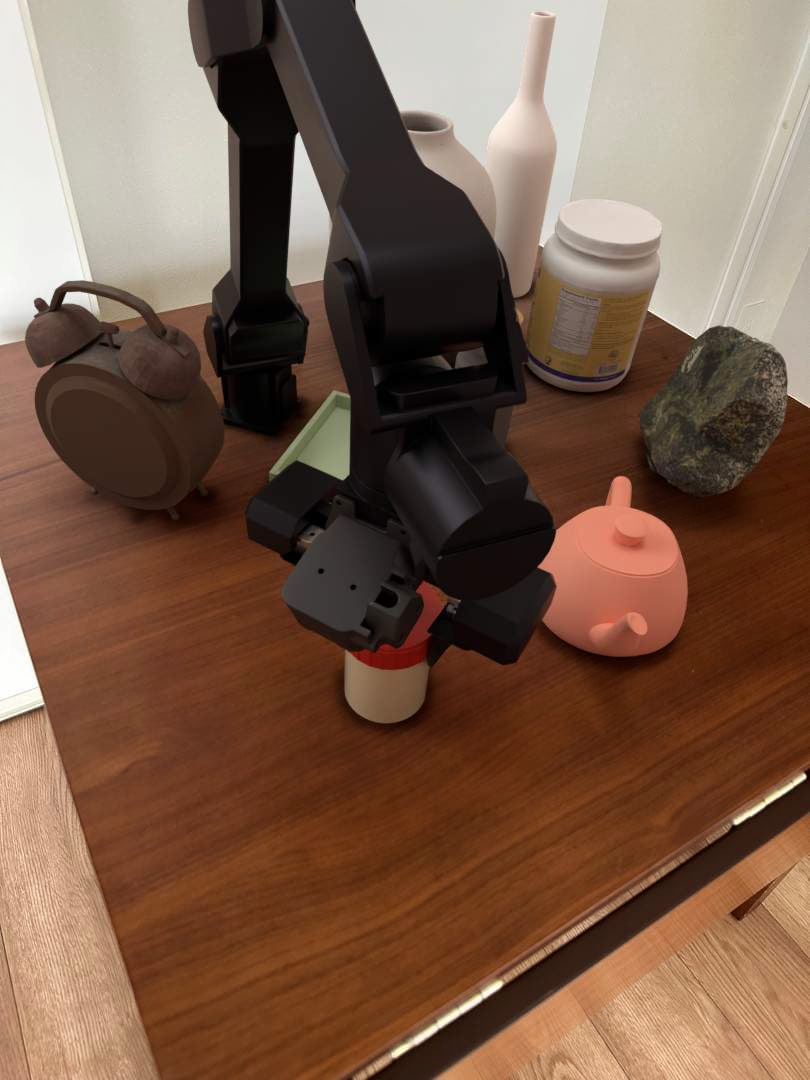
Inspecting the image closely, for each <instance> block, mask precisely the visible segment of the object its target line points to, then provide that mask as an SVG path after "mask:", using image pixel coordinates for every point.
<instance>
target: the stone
mask: <svg viewBox="0 0 810 1080" xmlns="http://www.w3.org/2000/svg"><path fill="white" fill-rule="evenodd" d="M788 379H789V378H788V371H787V364H786V361H785V359H784V356H782V354H781V353H780V351H779V350H777V349H776V347H775V346H774V345H773V344H771V343H770V342H765V341H761V340H760V339H758V338H757V337H752V336H751V335H749V334H748V333H745V332H743V331H741V330H739V329H737V328H735V327H734V326H723V325H720V324H719V325H716V326H712V327H709V328H707V329H706V330H705V331H704V332H702V333H701V334H700V335H699V336H697V337H696V339H694V341H693V342H692V343H691V345H690V346H689V348H688V349H687V351H686V353H685V354H684V355H683V358H682V359H681V361H680V363H679V365H678V366H677V368H676V370H675V372H674V373H673V374H672V375H671V376H670V378H669V379H667V381H666V384H665V385H664V386H662V388H661V389H660V390H659V391H658V392H657V393H655V395H654V396H653V397H652V398H651V399H649V400H648V402H646V403H645V404H644V405H643V406H642V408H641V410H640V412H639V413H637V417H638V423H639V429H640V431H641V434H642V436H643V439H644V443H645V446H646V447H645V448H646V460H647V462H648V464H649V468H650V470H651V471H652V472H653V473H655V474H657V475H660V476H662V477H663V478H665V479H666V481H667V482H668V483H669V484H671V485H672V486H673V487H677V488H678V489H679V490H680V491H682V492H684V493H686V494H690V495H691V496H693V497H698V498H705V497H706V498H707V497H713V496H716V495H719V494H724V493H727V492H729V491H731V490H732V489H734V488H736V487H738V485H739V484H740V483H741V482H742V480H743V479H744V478H745V477H746V476H747V475H748V474H749V473H751V472H752V471H753V469H755V468H756V467H757V466H758V465H759V463H760V462H761V461H762V459H763V457H764V456H765V454H766V453H767V451H768V449H769V448H770V447H771V445H772V444H773V443H774V441H775V439H776V438H777V437H778V435H779V434H780V432H781V430H782V428H783V424H784V421H785V417H786V413H787V407H788V402H789V398H788V385H789V380H788Z"/></svg>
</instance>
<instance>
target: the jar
mask: <svg viewBox="0 0 810 1080" xmlns="http://www.w3.org/2000/svg"><path fill="white" fill-rule="evenodd" d="M343 665H344V669H343V671H344V674H343V677H344V678H343V690H344V696H345V699H346V702H347V703H348V705H349V706H350V707H351V709H352V710H353V711H354V712H355V713H356V714H357V715H359V716H360V717H362V718H363V719H365V720H368V721H370V722H374V723H378V724H394V723H399V722H402V721H405V720H407V719H409V718H410V717H412V716H413V715H414V714H416V713H417V712H418V711H419V710H420V708H421V707H422V705H423V703H424V702H425V699H426V696H427V691H428V683H429V676H430V670H431V667H429V666H427V658H426V659H425V660H423V661H422V663H419V664H417V665H415V666H412V667H410V668H406V669H401V670H381V669H377V668H373V667H369V666H368V665H366V664H364V663H362V662H360V661H359V660H357V659H356V658H355V657H354V656H353V655H352V654H351V653H350V652H348V651H347V650H345V649H344V664H343Z"/></svg>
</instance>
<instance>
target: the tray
mask: <svg viewBox="0 0 810 1080" xmlns="http://www.w3.org/2000/svg"><path fill="white" fill-rule="evenodd" d="M350 403H351V398H350V395H349V393H346V392H342V391H338V390H335V389H334V390H333V391H332V392H331V393H329V395H328V397H327V398H326V399H325V401H324V402H323V403H322V404H321V406H320V407H319V408H318V409H317V411H316V412H315V413H314V415H313V416H312V417H311V418H310V419H309V421H308V422H307V423H306V424H305V426H304V427H303V429H301V431H300V432H299V433H298V435H296V438H295V439H294V440H293V441H292V443H290V445H289V446H288V447H287V449H286V450H285V452H284V453H283V454H282V455H281V456H280V458H279V459H278V460H277V461H276V462H275V464H274V465H273V467H272V468H271V469H270V471H268V478H269V480H268V481H269V482H270V481H271V480H272V479H273V478H274V477H276V476H277V475H278V474H279V473H280V472H281V471H282V470H283V469H285V468H286V467H287V466H288V465H290V464H291V463H293V462H294V461H296V460H298V461H300V462H303V463H305V464H308V465H310V466H312V467H314V468H317V469H319V470H321V471H323V472H326V473H328V474H330V475H332V476H335V477H337V478H339V479H341V480H344V479H345V478H346V477H347V476H348V475H349V463H350ZM329 503H330V502H329ZM330 504H332V503H330Z"/></svg>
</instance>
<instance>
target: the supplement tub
mask: <svg viewBox="0 0 810 1080" xmlns="http://www.w3.org/2000/svg"><path fill="white" fill-rule="evenodd" d="M663 227H664V226H663V224H662V222H661V221H660V219H659V218H658V217H656V216H655V215H654V214H653V213H651V212H650V211H648V210H647V209H644V208H642V207H640V206H638V205H634V204H631V203H627V202H624V201H620V200H613V199H604V198H586V199H585V198H584V199H577V200H574V201H571V202H568V203H566V204H565V205H563V206H562V207H561V208H560V209H559V213H558V216H557V221H556V222H555V224H554V232H553V234H551V235H550V236H549V238H548V239H547V240H546V241H545V243H544V246H543V248H542V251H541V257H540V262H539V267H538V272H537V276H536V277H537V278H536V282H535V288H534V293H533V298H532V303H531V309H530V314H529V318H528V323H527V328H526V332H525V333H526V334H525V339H524V342H525V346H526V351H527V355H528V359H529V362H527V363H526V366H527V367H528V368H529V369H530V371H531V372H532V373H533V374H534V375H535V376H537V377H538V378H539V379H541V380H542V381H544V382H545V383H548V384H550V385H552V386H554V387H556V388H559V389H562V390H567V391H571V392H577V393H595V392H602V391H603V392H604V391H607V390H609V389H612V388H613V387H615V386H617V385H618V384H619V383H621V382H622V381H623V379H624V378H625V377H626V375H627V374H628V372H629V371H630V369H631V365H632V361H633V357H634V354H635V351H636V348H637V344H638V342H639V339H640V335H641V332H642V329H643V326H644V322H645V319H646V317H647V313H648V310H649V307H650V303H651V300H652V297H653V294H654V291H655V288H656V285H657V282H658V279H659V277H660V271H661V259H660V256H659V253H658V250H660V247H661V238H662V234H663V230H664V228H663Z"/></svg>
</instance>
